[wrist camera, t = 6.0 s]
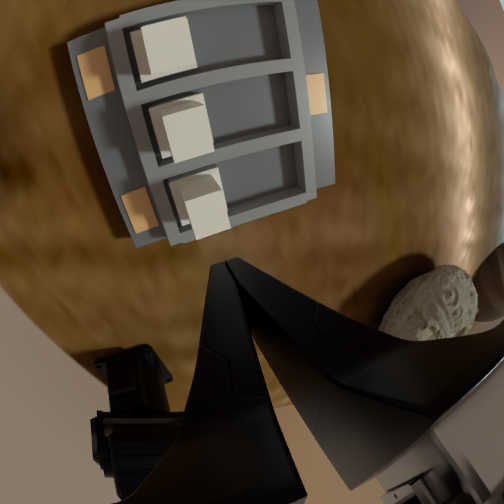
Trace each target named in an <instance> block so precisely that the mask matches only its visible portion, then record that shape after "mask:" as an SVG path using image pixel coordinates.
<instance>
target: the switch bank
mask: <svg viewBox="0 0 504 504" xmlns="http://www.w3.org/2000/svg"><path fill="white" fill-rule="evenodd" d="M119 16H120V18H118V19H115V20H112V21H109V22H106V23H105V27H104V28H101V29H99V30H96V31H93V32H91V33H88V34H86V35H83V36H81V37H78V38H76V39H74V40H71V41H69V42H67V45H68V50H69V54H70V58H71V63H72V67H73V71H74V75H75V78H76V82H77V86H78V90H79V93H80V97H81V100H82V104H83V107H84V111H85V114H86V117H87V120H88V124H89V127H90V130H91V133H92V136H93V139H94V142H95V145H96V148H97V151H98V154H99V157H100V159H101V162H102V165H103V168H104V170H105V173H106V176H107V178H108V181H109V184H110V186H111V189H112V192H113V194H114V197H115V199H116V202H117V204H118V207H119V209H120V212H121V214H122V216H123V219H124V221H125V223H126V226H127V228H128V231H129V233H130V235H131V237H132V240H133V242H134V244H135V246H136V248H139V247H141V246H144V245H147V244H150V243H152V242H155V241H158V240H161V239H164V238H166V237H168V239H169V242H170V244H171V246H173V245H176V244H178V243H181V242H183V243H187V242H190V241H193V240H196V238H195V235H194V232H193V230H192V227H191V224H187V225H184V226H182V224H181V221H180V218H179V215H178V211H177V208H176V205H175V202H174V199H173V196H172V193H171V190H170V186H169V183H168V180H167V178H170V177H173V176H176V175H179V174H182V173H185V172H188V171H191V170H194V169H198V168H201V167H204V166H207V165H211V164H214V163H215V164H216V165H217V167H218V169H219V174H220V178H221V183H222V187H223V191H224V196H225V200H226V204H227V209H228V211H227V214H228V218H229V222H230V226H231V227H234V226H237V225H240V224H243V223H246V222H249V221H252V220H255V219H258V218H261V217H264V216H267V215H270V214H273V213H276V212H280V211H283V210H286V209H289V208H292V207H295V206H298V205H301V204H305V203H307V201H308V200H311V199H314V198H317V193H316V189H317V188H321V187H324V186H327V185H331V184H334V183H335V164H334V144H333V128H332V114H331V102H330V91H329V81H328V71H327V63H326V54H325V47H324V39H323V32H322V25H321V19H320V13H319V7H318V1H317V0H177V1H172V2H168V3H163V4H159V5H155V6H151V7H147V8H143V9H140V10H136V11H133V12H129V13H126V14H123V15H119ZM184 16H186V18H187V19H188V24H189V29H190V34H191V39H192V44H193V48H194V53H195V58H196V63H197V67H198V68H194V69H190V70H186V71H182V72H178V73H174V74H170V75H167V76H163V77H160V78H156V79H153V80H150V81H146V82H143V83H142V82H141V78H140V74H139V69H138V65H137V61H136V57H135V52H134V48H133V44H132V39H131V35H130V32H133V31H136V30H140V29H141V27H143V26H146V25H150V24H154V23H158V22H162V21H166V20H170V19H174V18H179V17H184ZM198 92H201V93H203V96H204V100H205V105H206V109H207V114H208V119H209V123H210V128H211V132H212V137H213V141H214V143H213V146H214V150H215V152H211V153H208V154H204V155H201V156H198V157H194V158H191V159H188V160H185V161H182V162H178V163H174V160H173V158H172V156H170V157H167V158H164V159H162V155H161V152H160V149H159V145H158V142H157V138H156V134H155V131H154V127H153V124H152V120H151V116H150V113H149V109H148V107H149V106H152V105H156V104H159V103H162V102H165V101H169V100H172V99H176V98H179V97H183V96H187V95H190V94H194V93H198Z"/></svg>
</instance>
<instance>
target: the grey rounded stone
mask: <svg viewBox="0 0 504 504" xmlns="http://www.w3.org/2000/svg"><path fill="white" fill-rule="evenodd" d="M477 296H478V294H477V292H476V289H475V287H474V284H473V282H472V280H471V277H470V276H469V274H468V273H467V272H466V270H463V269H461V268H459V267H457V266H455V265H442V266H438V267H437V268H436V269H435V270H433V271H431V272H428V273H426V274H424V275H420V276H419V277H416V278H414V279H412V280H411V281H410V282H409V283H408V284H407V285H406V286H405V287H404V289H402V290H401V291H400V292H399V293H398V294H396V296H395V297H394V299H393V300H392V302H391V305H390V307H389V308H388V310H387V312H386V313H385V314H384V316H383V320H382V322H381V325H380V327H379V329H378V330H380V331H382V332H385V333H388V334H390V335H393V336H395V337H398V338H401V339H405V340H411V341H425V340H434V339H442V338H450V337H457V336H464V335H467V332H468V331H469V330H470V328H471V326H472V324H473V322H474V319H475V315H476V314H477V312H478V311H479V310H478V308H477V304H478V303H477Z"/></svg>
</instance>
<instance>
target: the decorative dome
mask: <svg viewBox="0 0 504 504" xmlns="http://www.w3.org/2000/svg"><path fill="white" fill-rule="evenodd" d="M473 284H474V287H475V289H476V292H477V294H478V296H477V303H478V304H477V308H478V310H479V311H478V312H477V314H476V315H475V319H474V321H478V322H487V321H493V320H496V319H499V318H501V317H503V316H504V244H503V245H502V246H501V247H500V248H496V249H495V250H494V252H493V254H492V255H491V257H490V258H489V260H488V261H487V263H486V264H485V265H484V266H483V267H482V268H481V269H480V270H479V272H478V274H477V276H476V278H475V281H474V283H473Z"/></svg>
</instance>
